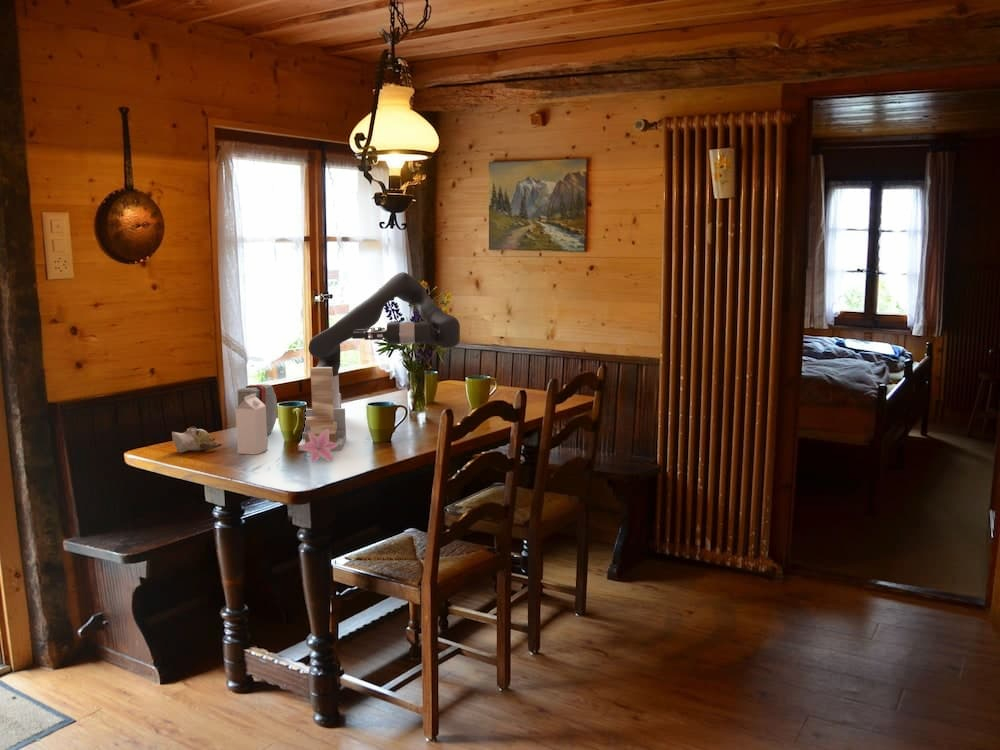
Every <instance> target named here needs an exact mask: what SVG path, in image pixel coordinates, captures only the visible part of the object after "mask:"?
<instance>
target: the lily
mask: <svg viewBox="0 0 1000 750" xmlns="http://www.w3.org/2000/svg"><path fill="white" fill-rule="evenodd" d="M308 435H309V439H310V442H307V443H305V444H303V445H301V446H300V447H299V448H300V449H302V450H305V451H304V452H309V453H311V457H310V458H311V463H314V462H316V461H317V460H318V459H319V458H320V457H321V458H323V459H325V460H327V461H329V462H333V458H334V457H333V454H332V452H331V451H332V450H330V449H332V448H334V447H336V446H338V444H336V443H334V442H329V429H326V430H324V431H323V432H322V433H321V434H320V435H319V436H318V437H317V436H316V435H314V434H312V433H308Z"/></svg>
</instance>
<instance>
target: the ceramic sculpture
mask: <svg viewBox="0 0 1000 750" xmlns="http://www.w3.org/2000/svg"><path fill="white" fill-rule="evenodd" d="M171 437H172V438H171V439H172V443H173V444H174V446H175V449H176V451H177V452H178V453H180V454H182V453H184V452H186V451H193V452H199V451H203V450H206V451H207V450H214V449H216V448H217V449H218V447H221V446H222V445H223V444H222V443H217V442H216V441H215V440H216V438H210V435H209V432H208V431H206V430H205V429H202V428H197V427H196V426H195V425H194V426H190V427H189V428H186V430H185V431H184V432H176V431H171Z"/></svg>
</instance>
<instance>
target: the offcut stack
mask: <svg viewBox="0 0 1000 750" xmlns="http://www.w3.org/2000/svg"><path fill="white" fill-rule="evenodd" d="M306 426H310V431H307V432H306V434H305V443H307V442H310V439H309V435H308V433H312V434H314V435H316V436H317V437H318V436H319V435H320V434H321V433H322V432H323V431H324V430H326V429H329V442H334V443H336V441H337V439H338V433H337V423H336V422H334V421H333V416H314V417H306Z"/></svg>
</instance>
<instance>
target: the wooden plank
mask: <svg viewBox="0 0 1000 750" xmlns="http://www.w3.org/2000/svg"><path fill="white" fill-rule="evenodd" d="M310 385H311V386H310V388H311V389H310V390H311V391H310V392H311V409H312V417H314V416H333V421H334V400H333V372H332V367H316V366H315V367H312V366H311V367H310Z"/></svg>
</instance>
